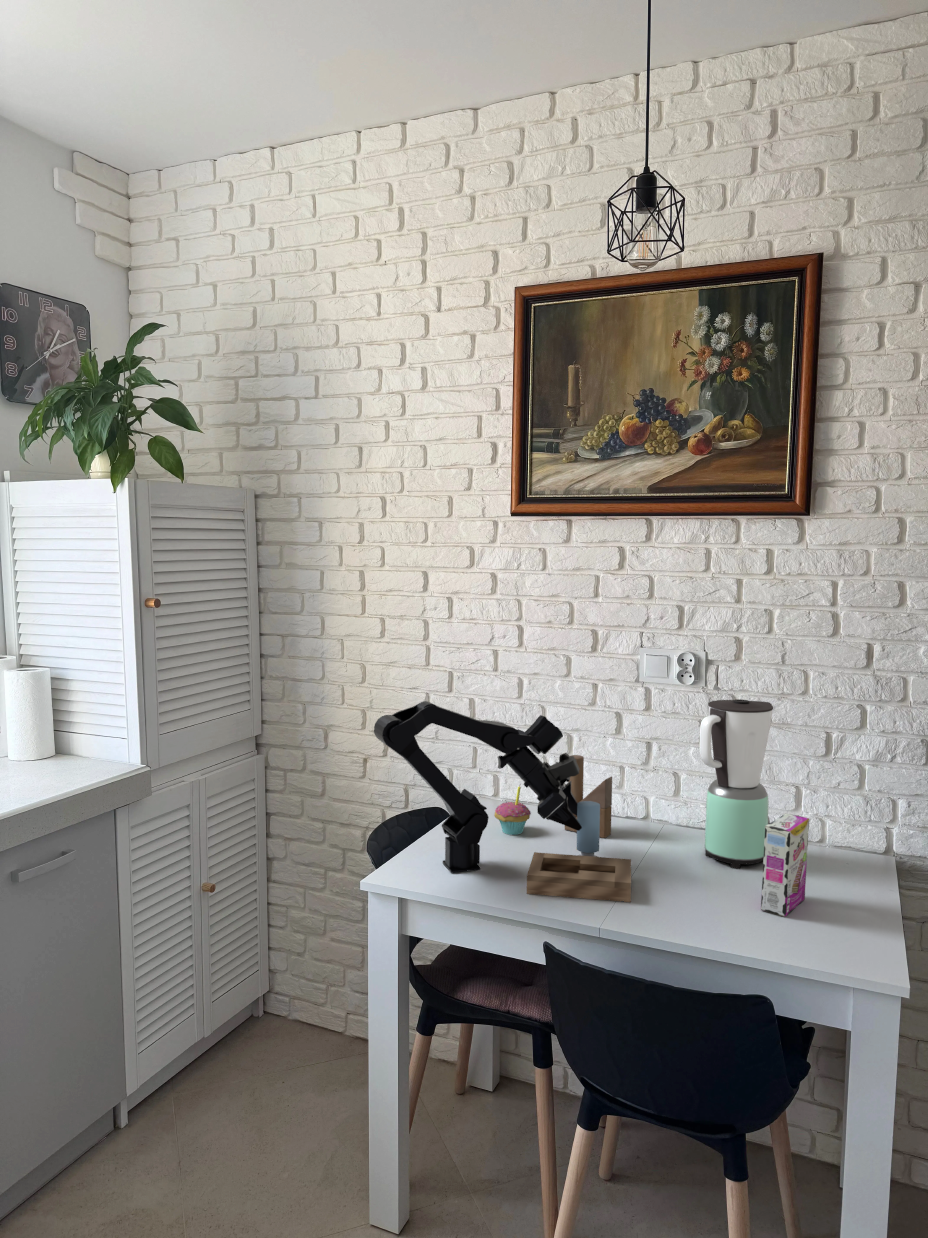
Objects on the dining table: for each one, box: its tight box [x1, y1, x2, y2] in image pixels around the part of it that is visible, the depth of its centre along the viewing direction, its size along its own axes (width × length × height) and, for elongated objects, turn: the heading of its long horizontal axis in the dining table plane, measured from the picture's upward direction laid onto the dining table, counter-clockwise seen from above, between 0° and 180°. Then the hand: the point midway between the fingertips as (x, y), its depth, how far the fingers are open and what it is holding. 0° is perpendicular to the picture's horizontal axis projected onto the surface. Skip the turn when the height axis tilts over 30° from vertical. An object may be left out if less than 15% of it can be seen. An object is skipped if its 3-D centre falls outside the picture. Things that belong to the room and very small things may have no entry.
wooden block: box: [564, 754, 613, 839], centre depth 207 cm, size 4×11×18 cm, turn 55°
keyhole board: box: [526, 851, 632, 903], centre depth 175 cm, size 20×13×4 cm, turn 79°
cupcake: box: [494, 783, 532, 836], centre depth 207 cm, size 9×8×12 cm
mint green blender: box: [698, 698, 774, 870], centre depth 189 cm, size 19×13×35 cm
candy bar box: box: [760, 813, 810, 918], centre depth 165 cm, size 11×5×16 cm, turn 141°
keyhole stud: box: [576, 801, 600, 857], centre depth 187 cm, size 6×6×13 cm
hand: (581, 822), depth 187 cm, fingers open, 9 cm apart
